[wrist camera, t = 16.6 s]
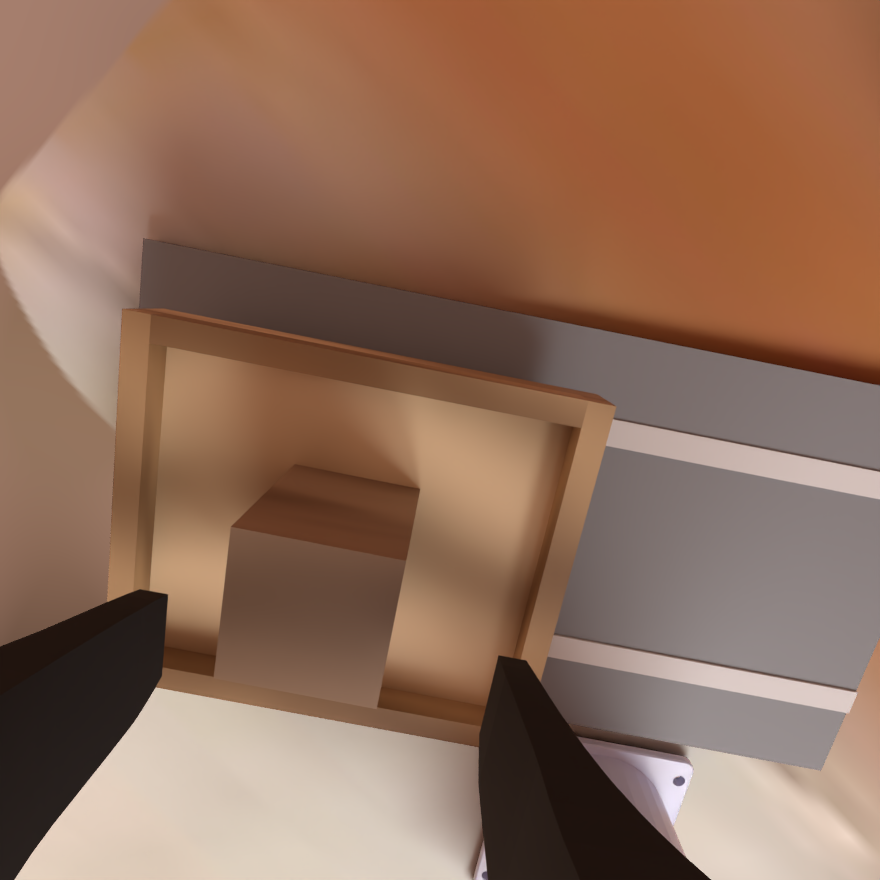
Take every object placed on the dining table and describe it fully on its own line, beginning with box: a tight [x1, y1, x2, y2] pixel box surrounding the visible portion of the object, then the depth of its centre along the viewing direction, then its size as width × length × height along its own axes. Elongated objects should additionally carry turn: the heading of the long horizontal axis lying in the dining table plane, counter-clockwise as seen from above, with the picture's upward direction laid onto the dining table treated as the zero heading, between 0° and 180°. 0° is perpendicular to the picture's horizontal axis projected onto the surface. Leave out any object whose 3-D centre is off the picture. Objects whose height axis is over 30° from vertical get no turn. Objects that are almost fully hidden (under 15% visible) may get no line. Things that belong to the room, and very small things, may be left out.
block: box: [214, 464, 420, 709], centre depth 15 cm, size 4×4×5 cm
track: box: [139, 238, 880, 771], centre depth 21 cm, size 16×30×1 cm, turn 79°
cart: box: [107, 308, 617, 747], centre depth 19 cm, size 12×14×4 cm
